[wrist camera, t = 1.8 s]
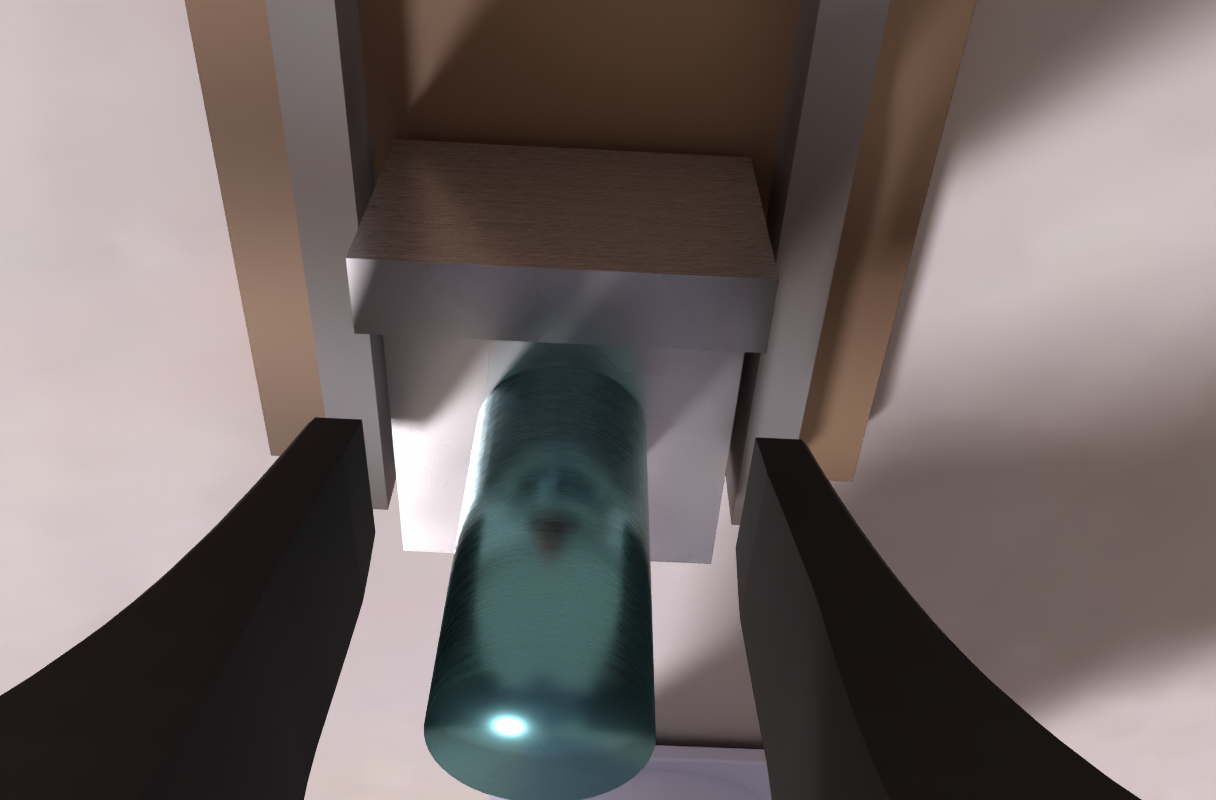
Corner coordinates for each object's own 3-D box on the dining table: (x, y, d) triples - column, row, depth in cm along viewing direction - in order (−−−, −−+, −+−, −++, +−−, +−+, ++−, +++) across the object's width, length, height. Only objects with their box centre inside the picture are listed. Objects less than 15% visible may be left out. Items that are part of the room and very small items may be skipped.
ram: (703, 486, 18) (739, 872, 12) (421, 473, 18) (333, 857, 12) (751, 157, 14) (830, 501, 9) (395, 138, 14) (254, 474, 9)
